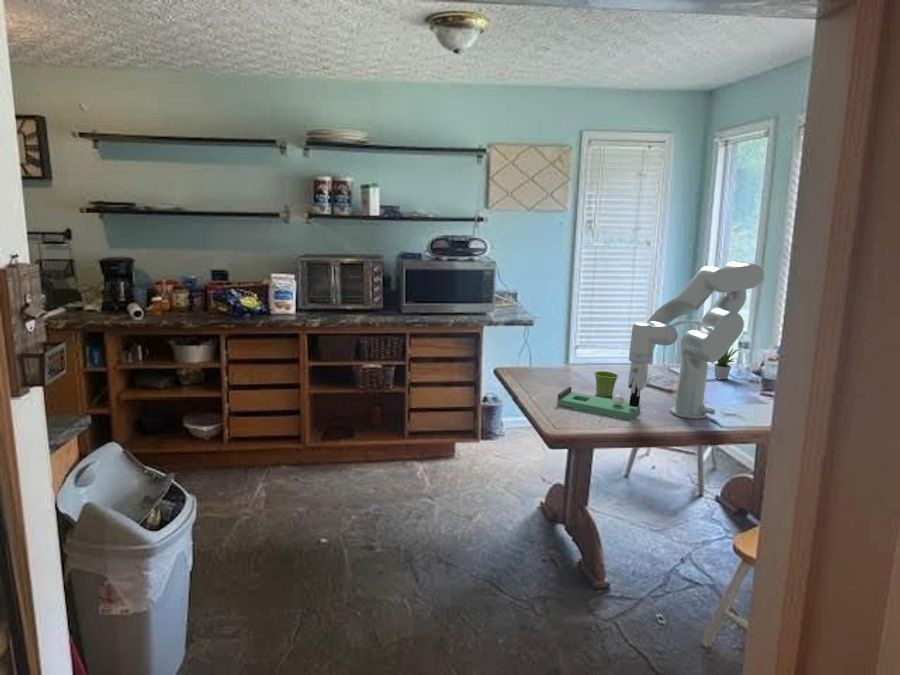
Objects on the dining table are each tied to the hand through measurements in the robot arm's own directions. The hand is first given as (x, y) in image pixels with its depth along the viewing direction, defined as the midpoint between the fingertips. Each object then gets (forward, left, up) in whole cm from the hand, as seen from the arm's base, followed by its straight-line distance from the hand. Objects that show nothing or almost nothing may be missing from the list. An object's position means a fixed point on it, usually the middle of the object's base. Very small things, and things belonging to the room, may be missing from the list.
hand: (634, 405), depth 238 cm
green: (+13, 0, -3) cm, 13 cm away
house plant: (-22, -82, -4) cm, 85 cm away
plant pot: (+16, -19, -4) cm, 25 cm away
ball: (+6, 0, +1) cm, 6 cm away
